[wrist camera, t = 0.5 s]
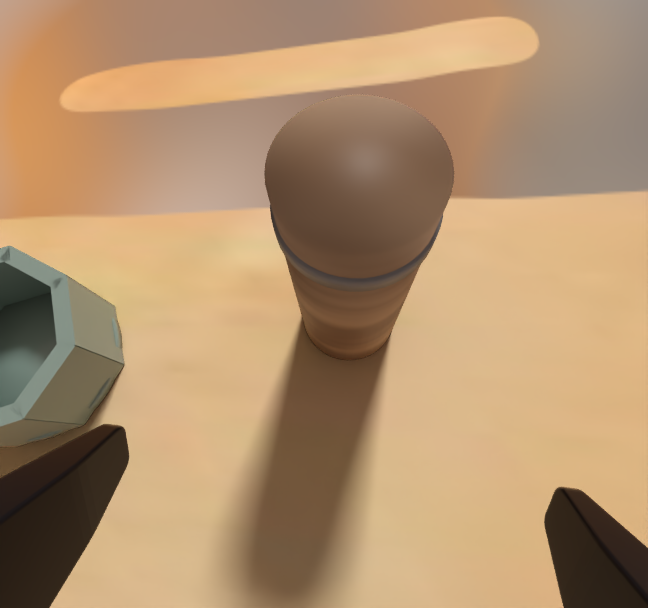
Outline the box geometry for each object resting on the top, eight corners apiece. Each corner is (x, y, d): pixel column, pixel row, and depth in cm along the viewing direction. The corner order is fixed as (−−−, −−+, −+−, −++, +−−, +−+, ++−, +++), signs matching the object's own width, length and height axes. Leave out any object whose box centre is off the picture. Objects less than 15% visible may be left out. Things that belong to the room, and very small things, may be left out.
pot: (134, 410, 22) (84, 401, 18) (-36, 465, 21) (-128, 469, 17) (110, 266, 25) (63, 228, 21) (-40, 310, 24) (-120, 281, 20)
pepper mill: (409, 344, 23) (491, 221, 10) (318, 374, 22) (292, 283, 10) (376, 261, 24) (413, 71, 12) (290, 288, 24) (240, 120, 12)
